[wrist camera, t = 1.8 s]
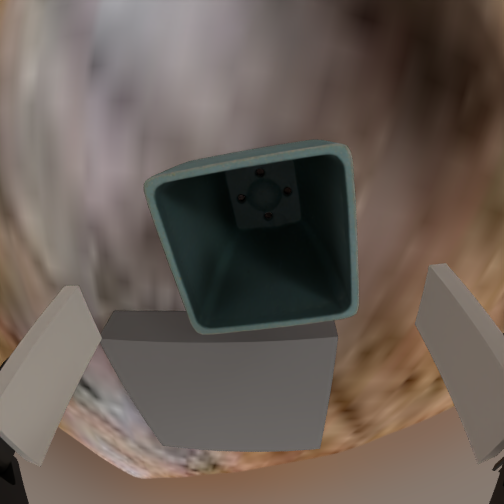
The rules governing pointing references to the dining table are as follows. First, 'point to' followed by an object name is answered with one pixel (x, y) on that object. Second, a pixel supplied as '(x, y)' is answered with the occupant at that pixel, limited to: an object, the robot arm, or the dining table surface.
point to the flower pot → (261, 236)
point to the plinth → (224, 381)
